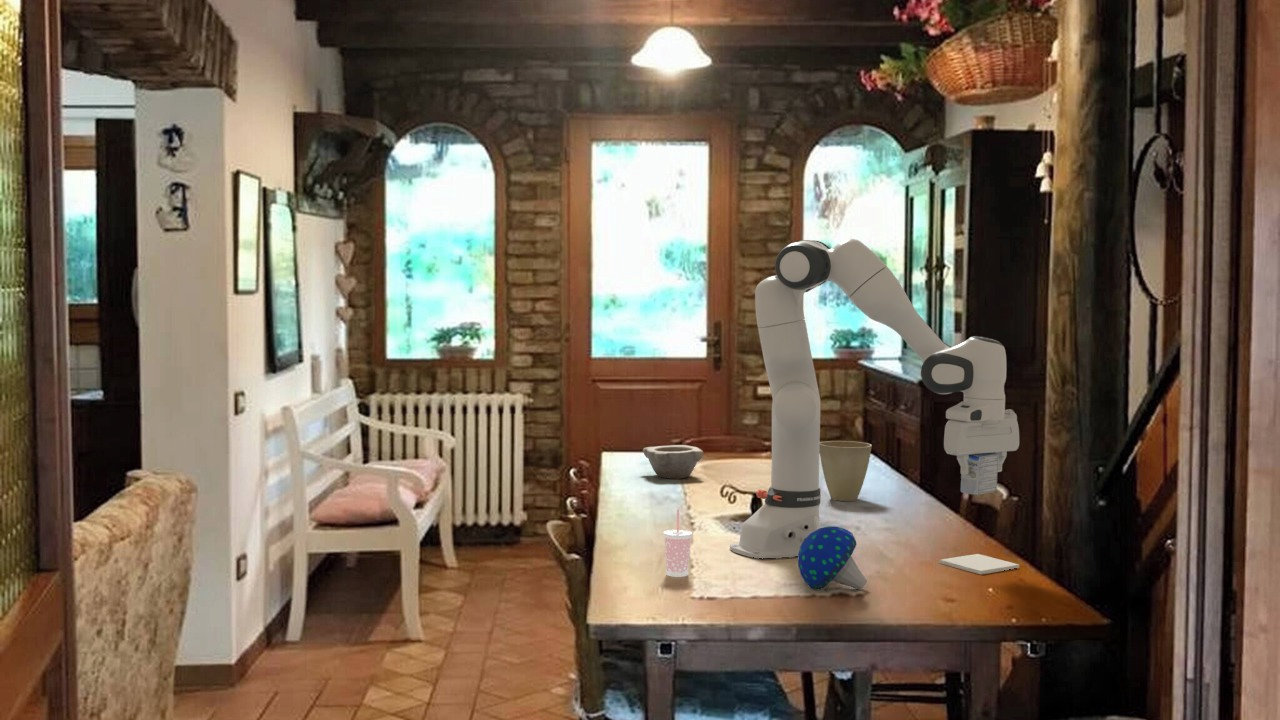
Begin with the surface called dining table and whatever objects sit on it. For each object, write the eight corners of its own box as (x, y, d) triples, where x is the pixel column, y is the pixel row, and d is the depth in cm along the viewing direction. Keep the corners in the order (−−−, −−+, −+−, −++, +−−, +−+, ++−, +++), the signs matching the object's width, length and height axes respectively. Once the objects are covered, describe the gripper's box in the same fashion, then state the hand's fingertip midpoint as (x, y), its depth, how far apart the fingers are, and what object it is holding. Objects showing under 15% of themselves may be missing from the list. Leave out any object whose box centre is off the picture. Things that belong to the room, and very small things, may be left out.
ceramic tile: (980, 574, 265) (980, 570, 265) (939, 563, 276) (939, 559, 275) (1019, 568, 272) (1019, 564, 272) (977, 557, 282) (977, 553, 282)
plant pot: (881, 500, 352) (882, 445, 351) (843, 505, 343) (844, 448, 342) (844, 492, 364) (845, 439, 363) (806, 497, 356) (808, 442, 354)
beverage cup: (662, 570, 266) (663, 506, 265) (691, 571, 265) (692, 506, 264) (662, 577, 260) (663, 511, 259) (691, 578, 259) (692, 512, 258)
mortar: (639, 473, 395) (639, 445, 394) (690, 471, 400) (690, 443, 399) (654, 482, 379) (655, 452, 378) (706, 480, 384) (707, 450, 383)
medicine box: (979, 488, 277) (981, 450, 277) (997, 491, 274) (999, 453, 273) (959, 492, 272) (961, 453, 271) (977, 495, 269) (979, 456, 268)
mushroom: (891, 558, 245) (831, 511, 246) (849, 615, 243) (789, 568, 244) (876, 556, 259) (819, 512, 260) (836, 611, 257) (779, 566, 258)
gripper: (1005, 407, 279) (1002, 467, 280) (940, 411, 269) (937, 474, 270) (1027, 410, 274) (1024, 472, 275) (961, 414, 263) (959, 478, 264)
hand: (981, 473), depth 272 cm, fingers closed on medicine box, 8 cm apart
